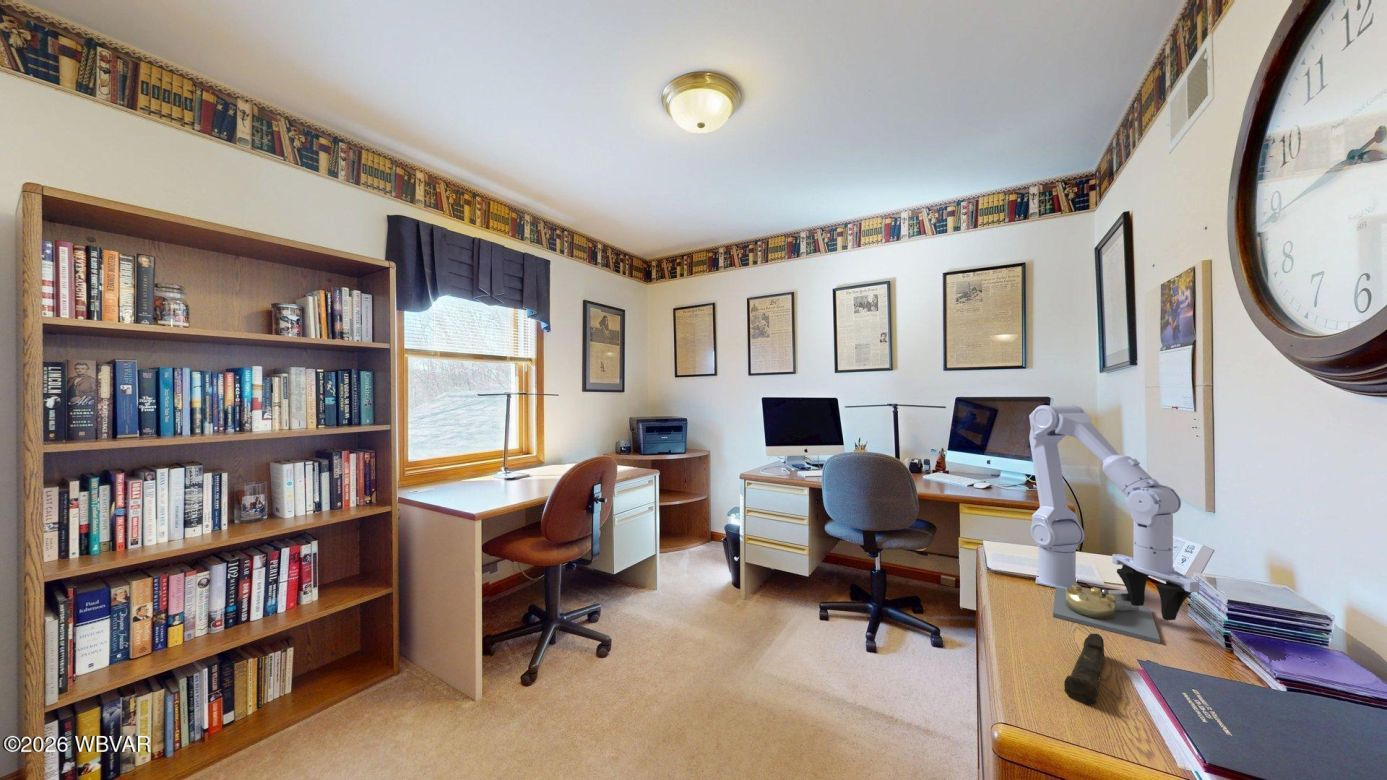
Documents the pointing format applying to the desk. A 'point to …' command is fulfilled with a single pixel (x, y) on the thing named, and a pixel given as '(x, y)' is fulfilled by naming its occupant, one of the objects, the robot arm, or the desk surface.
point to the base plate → (1111, 619)
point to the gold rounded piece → (1097, 601)
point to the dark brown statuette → (1086, 671)
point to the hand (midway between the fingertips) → (1152, 611)
